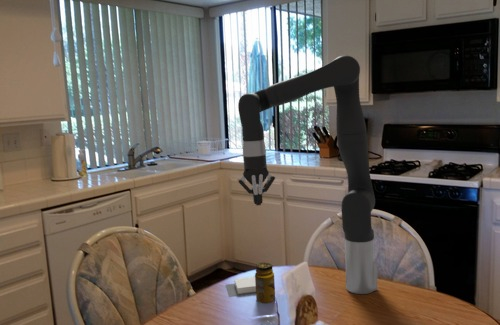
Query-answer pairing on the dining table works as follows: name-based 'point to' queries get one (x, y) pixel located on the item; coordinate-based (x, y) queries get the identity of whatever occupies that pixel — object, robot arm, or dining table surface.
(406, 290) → the dining table surface
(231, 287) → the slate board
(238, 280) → the tile
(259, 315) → the dining table surface
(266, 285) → the condiment
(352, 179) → the robot arm
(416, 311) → the dining table surface
